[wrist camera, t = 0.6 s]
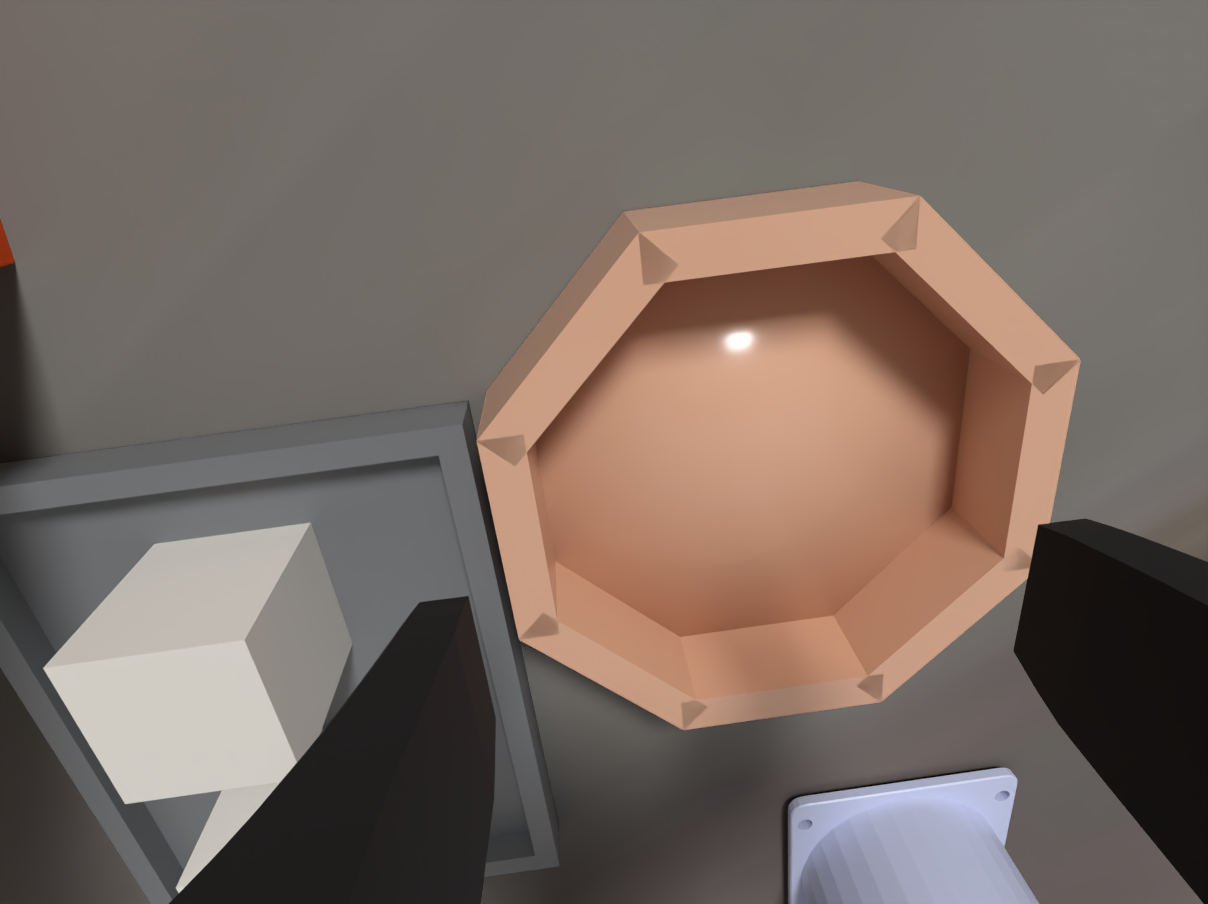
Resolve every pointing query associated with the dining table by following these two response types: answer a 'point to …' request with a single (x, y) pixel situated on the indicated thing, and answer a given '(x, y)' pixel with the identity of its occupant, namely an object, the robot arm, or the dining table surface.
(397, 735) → the robot arm
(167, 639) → the off-white cube
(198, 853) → the white block
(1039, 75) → the dining table surface
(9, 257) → the pasta box
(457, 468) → the tray
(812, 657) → the bowl
